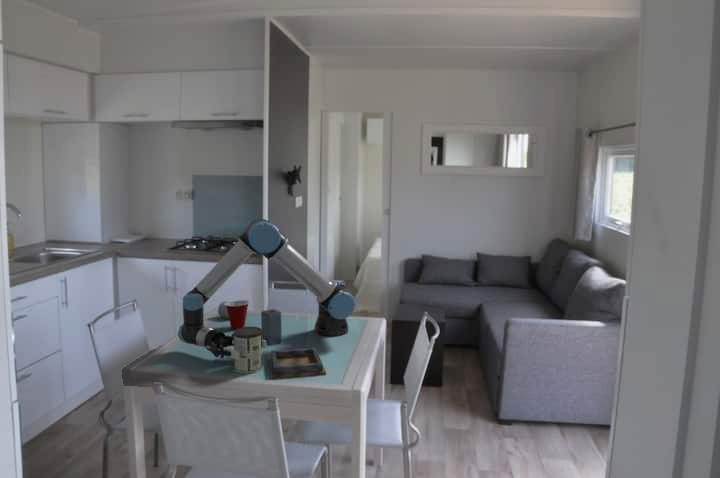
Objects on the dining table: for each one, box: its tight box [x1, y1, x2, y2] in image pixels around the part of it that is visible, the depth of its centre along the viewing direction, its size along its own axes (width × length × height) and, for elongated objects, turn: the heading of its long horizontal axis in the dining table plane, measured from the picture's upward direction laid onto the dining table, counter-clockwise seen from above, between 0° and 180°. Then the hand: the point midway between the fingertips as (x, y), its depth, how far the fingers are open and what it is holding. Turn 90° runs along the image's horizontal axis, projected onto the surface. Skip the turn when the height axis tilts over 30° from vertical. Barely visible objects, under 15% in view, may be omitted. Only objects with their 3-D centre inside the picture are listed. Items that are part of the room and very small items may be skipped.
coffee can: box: [232, 326, 264, 374], centre depth 190 cm, size 10×10×14 cm
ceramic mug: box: [217, 301, 229, 319], centre depth 254 cm, size 11×8×8 cm
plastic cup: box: [225, 299, 250, 331], centre depth 237 cm, size 11×11×12 cm
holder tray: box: [268, 347, 327, 380], centre depth 193 cm, size 19×19×4 cm
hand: (252, 349), depth 189 cm, fingers open, 13 cm apart
